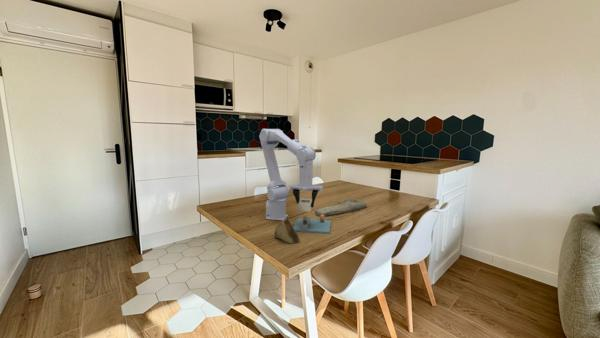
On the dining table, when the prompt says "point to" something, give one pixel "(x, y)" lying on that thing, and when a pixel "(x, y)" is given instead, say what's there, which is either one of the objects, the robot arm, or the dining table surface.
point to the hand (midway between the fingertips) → (305, 206)
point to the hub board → (314, 226)
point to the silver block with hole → (304, 204)
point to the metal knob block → (305, 223)
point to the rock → (286, 232)
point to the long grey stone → (341, 207)
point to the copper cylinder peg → (321, 218)
